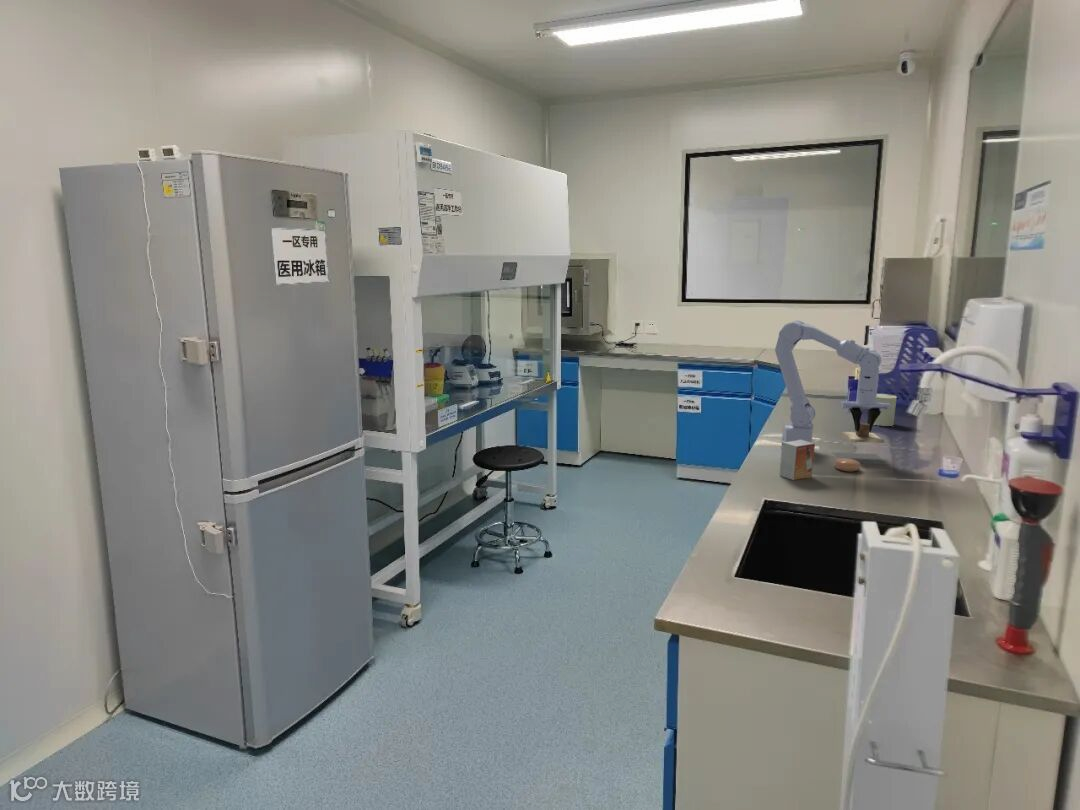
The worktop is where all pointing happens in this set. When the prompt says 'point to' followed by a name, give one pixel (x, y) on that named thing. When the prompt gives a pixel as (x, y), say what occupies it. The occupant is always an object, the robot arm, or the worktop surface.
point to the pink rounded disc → (847, 464)
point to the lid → (862, 435)
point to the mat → (862, 458)
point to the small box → (797, 459)
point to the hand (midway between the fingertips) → (862, 430)
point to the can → (886, 415)
